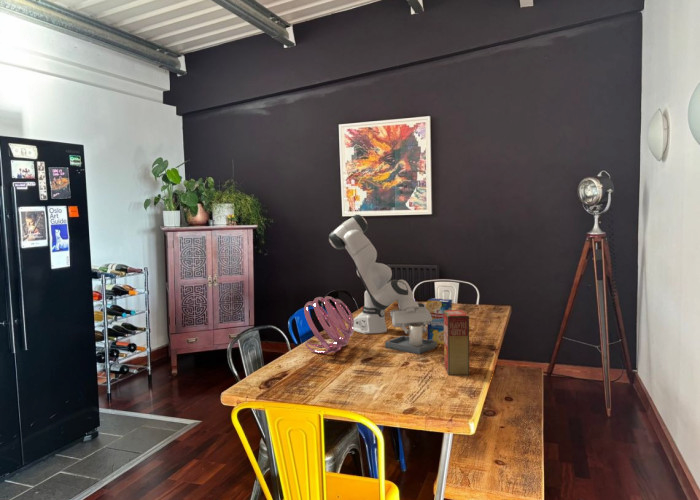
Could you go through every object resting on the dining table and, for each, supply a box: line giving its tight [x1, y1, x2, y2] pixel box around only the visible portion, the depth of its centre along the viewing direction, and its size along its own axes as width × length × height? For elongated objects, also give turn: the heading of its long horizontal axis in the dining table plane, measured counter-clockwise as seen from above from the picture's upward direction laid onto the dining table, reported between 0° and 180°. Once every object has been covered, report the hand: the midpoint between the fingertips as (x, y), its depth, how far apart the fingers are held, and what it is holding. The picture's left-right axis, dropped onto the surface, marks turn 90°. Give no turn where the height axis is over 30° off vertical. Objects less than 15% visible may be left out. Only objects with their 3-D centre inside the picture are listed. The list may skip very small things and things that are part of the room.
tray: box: [384, 335, 438, 355], centre depth 257 cm, size 20×16×3 cm
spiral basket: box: [303, 295, 354, 355], centre depth 253 cm, size 28×28×27 cm
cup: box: [408, 324, 423, 348], centre depth 253 cm, size 6×6×11 cm
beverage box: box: [426, 297, 453, 345], centre depth 266 cm, size 7×11×22 cm, turn 62°
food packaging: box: [443, 309, 470, 376], centre depth 219 cm, size 13×9×25 cm
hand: (416, 332), depth 252 cm, fingers open, 8 cm apart
